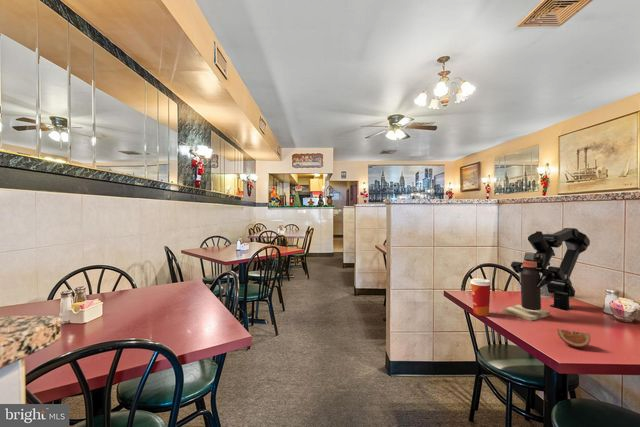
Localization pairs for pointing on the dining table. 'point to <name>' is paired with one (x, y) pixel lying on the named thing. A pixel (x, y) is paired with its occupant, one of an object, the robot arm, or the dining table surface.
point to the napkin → (525, 312)
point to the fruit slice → (574, 338)
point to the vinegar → (530, 286)
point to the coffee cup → (480, 296)
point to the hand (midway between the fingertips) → (528, 286)
